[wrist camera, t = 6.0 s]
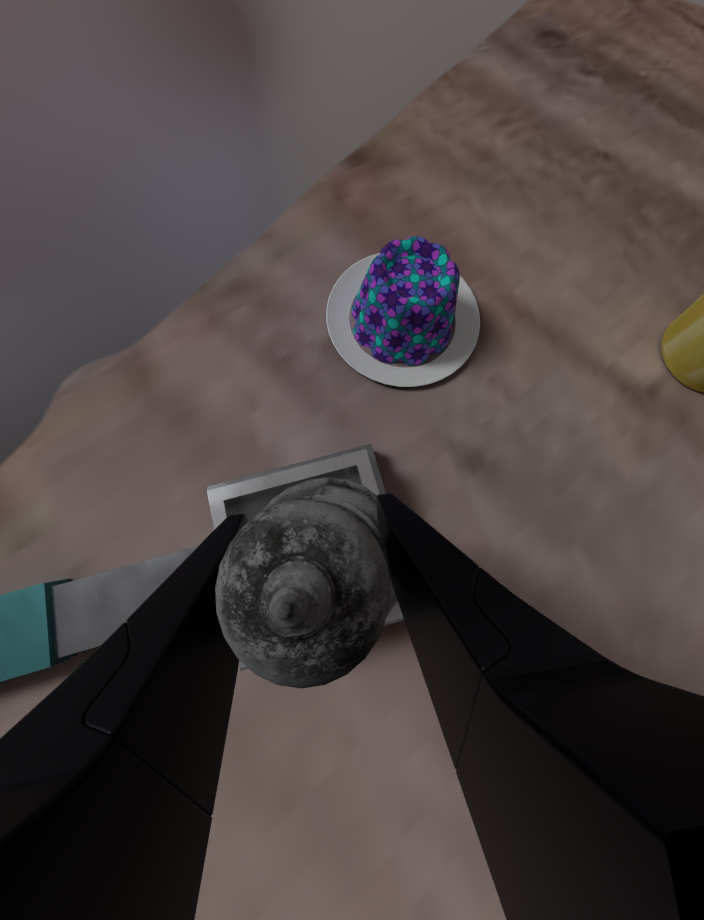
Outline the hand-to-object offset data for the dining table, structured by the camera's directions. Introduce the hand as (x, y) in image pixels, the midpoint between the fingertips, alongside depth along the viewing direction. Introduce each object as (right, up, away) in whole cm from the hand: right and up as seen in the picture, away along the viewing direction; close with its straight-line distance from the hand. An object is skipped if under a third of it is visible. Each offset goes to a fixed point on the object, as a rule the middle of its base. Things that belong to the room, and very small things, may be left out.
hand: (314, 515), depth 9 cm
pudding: (+5, +13, +17) cm, 22 cm away
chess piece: (0, -3, +6) cm, 7 cm away
